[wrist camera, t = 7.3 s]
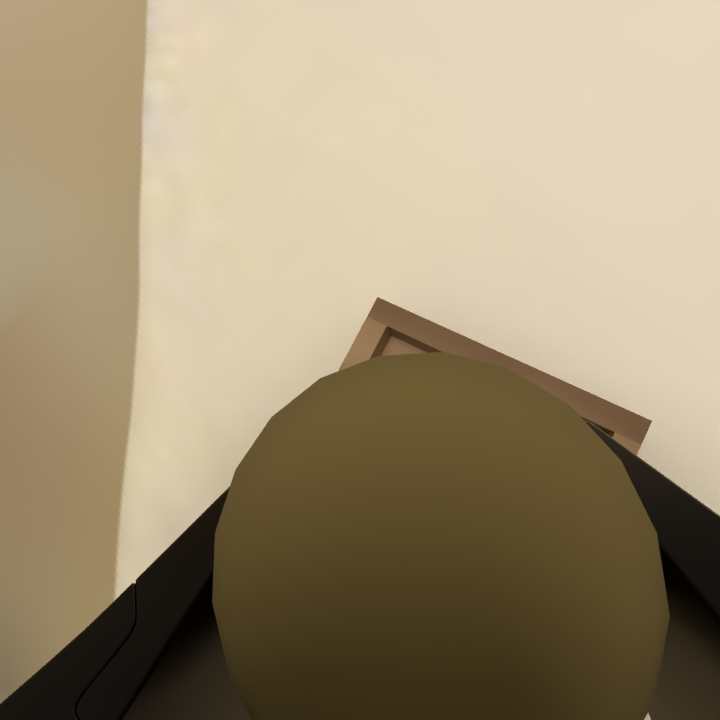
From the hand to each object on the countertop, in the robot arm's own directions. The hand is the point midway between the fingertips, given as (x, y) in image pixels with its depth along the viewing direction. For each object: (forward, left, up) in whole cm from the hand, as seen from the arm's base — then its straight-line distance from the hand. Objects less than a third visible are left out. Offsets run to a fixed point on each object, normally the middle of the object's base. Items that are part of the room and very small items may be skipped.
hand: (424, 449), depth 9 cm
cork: (-1, -1, -7) cm, 7 cm away
